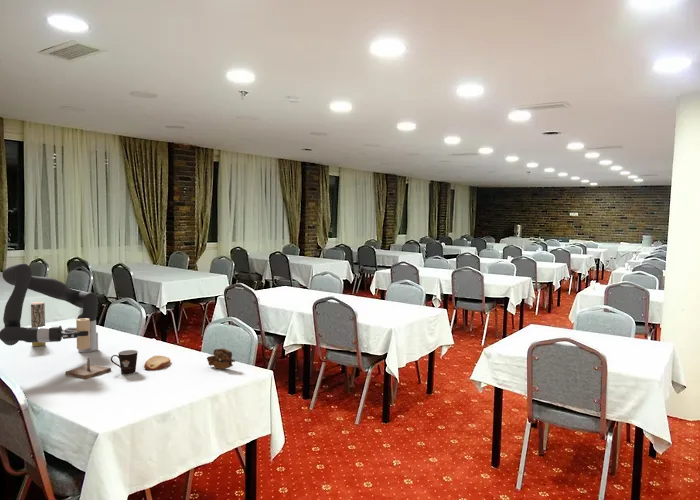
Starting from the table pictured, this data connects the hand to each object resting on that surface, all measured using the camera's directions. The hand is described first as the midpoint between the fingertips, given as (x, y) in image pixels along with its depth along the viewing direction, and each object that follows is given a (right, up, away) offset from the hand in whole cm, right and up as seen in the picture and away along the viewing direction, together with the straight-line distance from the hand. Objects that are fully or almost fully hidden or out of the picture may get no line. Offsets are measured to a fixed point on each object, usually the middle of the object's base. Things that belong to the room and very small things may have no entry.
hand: (89, 331), depth 249 cm
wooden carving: (+61, -20, +10) cm, 65 cm away
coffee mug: (+17, -20, +2) cm, 26 cm away
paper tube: (-55, -16, +51) cm, 77 cm away
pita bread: (+27, -20, +16) cm, 37 cm away
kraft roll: (-3, -8, 0) cm, 8 cm away
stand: (-1, -20, +1) cm, 20 cm away
